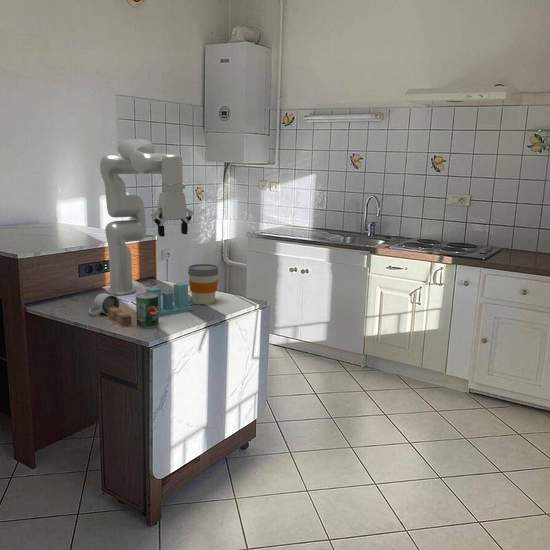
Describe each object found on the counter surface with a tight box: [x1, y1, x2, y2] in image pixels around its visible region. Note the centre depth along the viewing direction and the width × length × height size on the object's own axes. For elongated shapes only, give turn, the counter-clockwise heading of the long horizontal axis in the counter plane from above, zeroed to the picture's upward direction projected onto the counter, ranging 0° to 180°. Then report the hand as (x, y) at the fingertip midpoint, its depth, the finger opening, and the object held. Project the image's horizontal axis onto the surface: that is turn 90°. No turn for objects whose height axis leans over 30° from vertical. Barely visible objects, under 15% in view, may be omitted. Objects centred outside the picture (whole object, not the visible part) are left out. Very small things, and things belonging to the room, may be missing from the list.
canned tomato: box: [135, 292, 160, 328], centre depth 203 cm, size 8×8×11 cm
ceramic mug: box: [88, 292, 121, 317], centre depth 216 cm, size 11×8×8 cm
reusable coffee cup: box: [187, 263, 219, 306], centre depth 234 cm, size 12×12×15 cm
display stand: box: [145, 282, 193, 317], centre depth 218 cm, size 6×18×10 cm, turn 131°
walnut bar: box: [106, 306, 132, 328], centre depth 207 cm, size 15×3×4 cm, turn 38°
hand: (173, 235), depth 209 cm, fingers open, 9 cm apart
